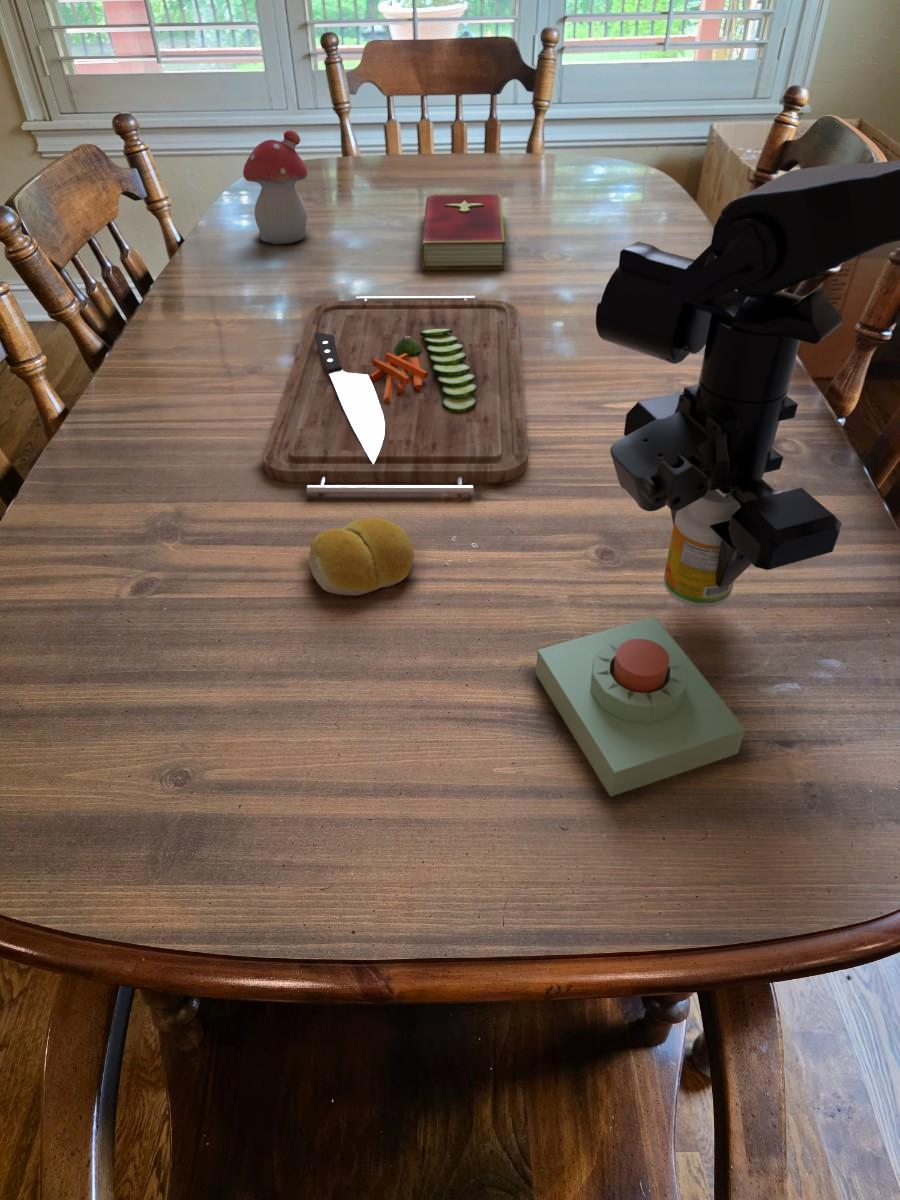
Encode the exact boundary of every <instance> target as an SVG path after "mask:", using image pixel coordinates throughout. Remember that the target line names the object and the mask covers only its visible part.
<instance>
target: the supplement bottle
mask: <svg viewBox="0 0 900 1200" xmlns="http://www.w3.org/2000/svg"><path fill="white" fill-rule="evenodd" d="M739 505H740V504H739V503H738V502H737V501H736V500H735V499H734V498H733V497H732V496H731V497H726V498H725V497H722V496H721V495H720V494H719V493H718V492H717V491H716V490H713V491H709V490H708V491H707V493H706V494H705V496H704V497H702V498H700V499H698V500H697V501H695V502H693V503H691V504H689V505H688V506H686V507H684V508H682V509H680V510H678V511H677V512H676V516H675V521H674V526H673V525H672V531H671V535H670V536H671V538H670V541H669V548H668V553H667V556H666V557H667V558H666V563H665V569H664V574H663V585H664V588H665V590H666V592H667V593H668V595H670V596H671V597H672V598H673V599H674V600H675V601H678V602H679V603H682V604H684V605H686V606H690V607H695V608H712V607H716V606H719V605H721V604H723V603H724V602H726V601H727V600H728V599H729V598H730V596H731V594H732V592H733V588H734V585H735V581H736V579H735V580H734V581H733V582H732V583H731V584H730V585H728V586H724V587H718V586H717V585H716V572H717V565H718V559H719V553H720V547H721V541H722V539H721V538H720V537H719V536H718V535H717V534H716V533H715V532H714V531H713V530H712V529H711V528H710V525H713V524H717V523H721V522H724V521H728V520H731V516H732V515H733V514H734V513H735V512H736V511H737V510H738V508H739Z"/></svg>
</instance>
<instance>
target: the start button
mask: <svg viewBox="0 0 900 1200" xmlns="http://www.w3.org/2000/svg"><path fill="white" fill-rule="evenodd" d="M668 665H669V656H668V654H667V652H666V651H665V649H664V648H663V647H662V646H660V645H659V644H657V643H655V642H653V641H650V640H646V639H632V640H628V641H626V642H624V643H622V644H621V645H620V646H619V647H618V649H617V652H616V657H615V664H614V670H613V673H614V677H615V679H616V681H617V682H618V683H619V684H620V685H621V686H622V687H624V688H626V689H628V690H630V691H632V692H639V693H650V692H653V691H656V690H658V689H659V688H660V687H661V686H662V685H663V684H664V682H665V679H666V674H667V670H668Z"/></svg>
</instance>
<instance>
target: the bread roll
mask: <svg viewBox="0 0 900 1200" xmlns="http://www.w3.org/2000/svg"><path fill="white" fill-rule="evenodd" d="M308 556H309V558H308V563H307V564H308V567H309V569H310V572H311V573H312V576H313V578H314V580H315V581H316V583H317V584H318V585H319V586H320V588H321V589H322V590H323V591H325V592H327V593H330V594H334V595H340V596H341V595H342V596H352V597H353V596H360V595H364V594H369V593H371V592H373V591H377V590H379V589H380V588H389V587H391V586H394V585H396V584H398V583H400V582H401V581H403V580H405V579H406V578H407V576H408V575H409V573H410V571H411V568H412V565H413V562H414V557H415V556H414V547H413V543H412V541H411V538H410V536H408V534H407V532H406V530H404V529H403V528H402V527H400V525H398V524H397V523H395V522H393V521H391V520H388V519H385V518H376V517H375V518H358V519H357V520H354V521H352V522H350V523H348V524H347V525H345V526H343V527H342V528H328V529H325V530H322V531H320V532H319V533H318V534H317V535H316V536H315V537H314V539H313V540H312V541H311V542H310V551H309V554H308Z"/></svg>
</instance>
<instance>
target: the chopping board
mask: <svg viewBox="0 0 900 1200" xmlns="http://www.w3.org/2000/svg"><path fill="white" fill-rule="evenodd" d="M518 311H519V310H518V309H517V308H516V306H515V305H513V304H511V303H510V302H507V301H503V300H494V299H476V296H475V295H409V296H408V295H407V296H406V295H405V296H403V295H401V296H399V295H397V296H395V295H393V296H388V295H386V296H385V295H383V296H381V295H380V296H378V295H377V296H375V295H374V296H355V300H335V301H328V302H327V301H326V302H324V303H321V304H318V305H317V306H315V307H314V308H313V309H311V311H310V313H309V315H308V319H307V321H306V325H305V328H304V331H303V334H302V336H301V339H300V342H299V345H298V348H297V351H296V354H295V357H294V360H293V363H292V366H291V369H290V372H289V374H288V378H287V381H286V384H285V386H284V389H283V393H282V395H281V398H280V401H279V404H278V406H277V410H276V413H275V416H274V419H273V422H272V425H271V426H270V427H271V428H270V431H269V434H268V437H267V440H266V443H265V446H264V448H263V451H262V462H263V468H264V472H265V473H266V474H267V476H268V477H269V478H272V479H274V480H276V481H279V482H283V483H284V482H285V483H292V484H293V483H295V484H297V483H300V484H301V483H302V484H303V483H304V484H305V483H306V484H307V483H308V484H307V485H306V493H307V494H309V495H311V494H312V495H314V494H316V495H321V494H322V495H323V494H324V495H325V494H326V495H328V494H334V495H336V494H339V495H342V494H344V495H345V494H348V495H349V494H350V495H351V494H354V495H355V494H357V495H359V494H360V495H361V494H362V495H364V494H365V495H369V494H370V495H371V494H372V495H377V494H379V495H381V494H382V495H384V494H385V495H388V494H389V495H422V494H423V495H425V494H426V495H466V494H467V495H473V494H474V489H475V488H474V485H473V484H495V483H497V484H498V483H505V482H509V481H512V480H515V479H517V478H520V477H521V475H523V474H524V473H526V471H527V468H528V463H529V446H528V434H527V433H528V432H527V431H528V430H527V421H526V419H527V418H526V405H525V392H524V378H523V365H522V353H521V339H520V327H519V312H518ZM309 483H311V484H309ZM312 483H317V484H312ZM318 483H319V484H318ZM327 483H328V484H327ZM329 483H331V484H329ZM332 483H333V484H332ZM334 483H335V484H334ZM336 483H339V484H336ZM340 483H341V484H340ZM342 483H343V484H344V485H343V484H342ZM347 483H348V484H347ZM349 483H350V484H349ZM351 483H352V484H351ZM353 483H359V484H358V485H357V484H356V485H355V484H353ZM362 483H363V484H364V483H367V485H366V484H364V485H363V484H362ZM370 483H372V484H370ZM373 483H374V484H373ZM375 483H379V485H378V484H377V485H376V484H375ZM382 483H383V484H382ZM384 483H385V485H384ZM387 483H388V485H387ZM389 483H390V485H389ZM395 483H396V484H395ZM399 483H401V484H399ZM405 483H406V484H405ZM407 483H408V484H407ZM410 483H411V484H412V485H411V484H410ZM413 483H414V484H415V485H413ZM425 483H426V484H427V485H425ZM429 483H430V484H431V483H432V484H433V485H432V484H431V485H430V484H429ZM436 483H437V484H438V485H437V484H436ZM440 483H441V484H443V483H445V484H447V485H445V484H444V485H441V484H440ZM381 484H382V485H381ZM391 484H392V485H391ZM393 484H394V485H393ZM397 484H398V485H397ZM402 484H403V485H402ZM404 484H405V485H404ZM409 484H410V485H409ZM419 484H421V485H419ZM422 484H424V485H422ZM428 484H429V485H428ZM435 484H436V485H435ZM449 484H451V485H449ZM455 484H456V485H455ZM463 484H468V485H463ZM469 484H470V485H469ZM471 484H472V485H471Z"/></svg>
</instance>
